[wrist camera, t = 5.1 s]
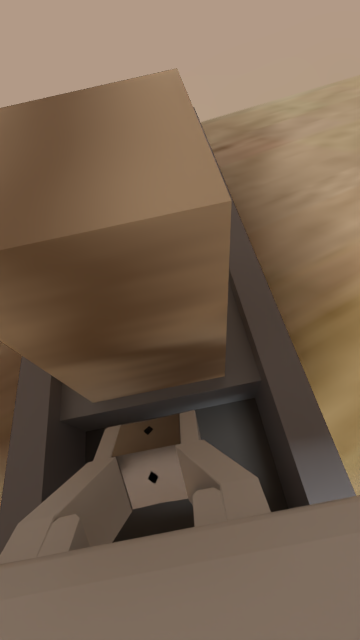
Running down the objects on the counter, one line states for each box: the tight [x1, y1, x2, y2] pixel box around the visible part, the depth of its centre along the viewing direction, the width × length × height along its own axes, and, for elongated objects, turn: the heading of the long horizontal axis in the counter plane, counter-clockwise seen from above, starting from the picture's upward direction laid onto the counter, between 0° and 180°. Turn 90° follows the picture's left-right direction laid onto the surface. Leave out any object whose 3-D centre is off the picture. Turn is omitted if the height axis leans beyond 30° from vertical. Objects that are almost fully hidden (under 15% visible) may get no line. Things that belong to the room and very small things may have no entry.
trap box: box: [0, 107, 356, 554], centre depth 17 cm, size 12×32×4 cm, turn 9°
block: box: [0, 69, 232, 403], centre depth 10 cm, size 6×6×9 cm
